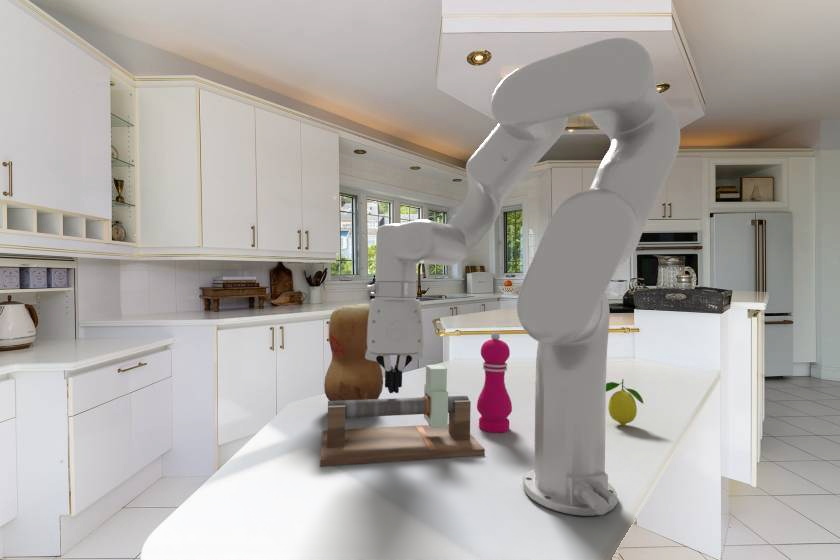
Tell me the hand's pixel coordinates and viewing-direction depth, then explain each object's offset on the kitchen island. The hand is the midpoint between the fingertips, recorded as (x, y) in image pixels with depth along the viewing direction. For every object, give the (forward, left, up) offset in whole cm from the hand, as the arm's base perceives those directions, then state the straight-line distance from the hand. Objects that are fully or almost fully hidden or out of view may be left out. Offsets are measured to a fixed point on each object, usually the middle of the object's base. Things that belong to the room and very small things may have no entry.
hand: (393, 391), depth 77 cm
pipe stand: (0, -1, -10) cm, 10 cm away
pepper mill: (+6, -22, -10) cm, 25 cm away
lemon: (+3, -50, -10) cm, 51 cm away
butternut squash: (+22, +6, -10) cm, 25 cm away
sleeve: (0, -8, -6) cm, 10 cm away
